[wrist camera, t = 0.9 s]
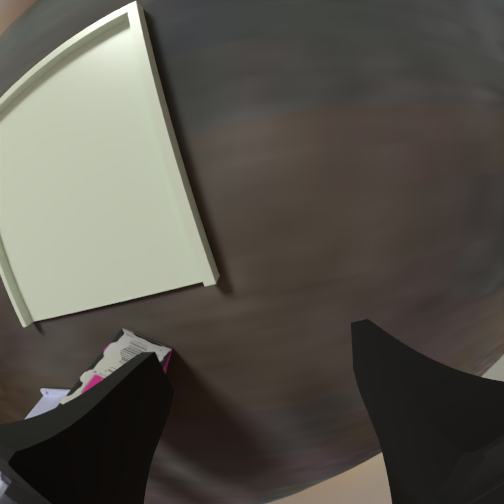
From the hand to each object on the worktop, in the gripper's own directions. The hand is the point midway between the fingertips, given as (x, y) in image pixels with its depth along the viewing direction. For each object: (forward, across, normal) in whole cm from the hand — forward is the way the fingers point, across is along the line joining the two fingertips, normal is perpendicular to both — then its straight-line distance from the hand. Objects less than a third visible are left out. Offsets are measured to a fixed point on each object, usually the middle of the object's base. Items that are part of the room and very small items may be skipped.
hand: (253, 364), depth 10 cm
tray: (+10, +15, -10) cm, 21 cm away
